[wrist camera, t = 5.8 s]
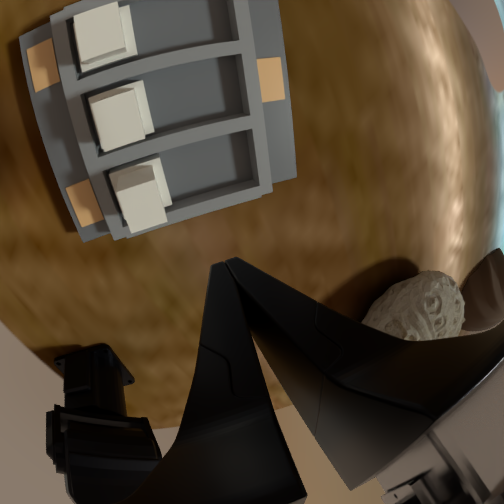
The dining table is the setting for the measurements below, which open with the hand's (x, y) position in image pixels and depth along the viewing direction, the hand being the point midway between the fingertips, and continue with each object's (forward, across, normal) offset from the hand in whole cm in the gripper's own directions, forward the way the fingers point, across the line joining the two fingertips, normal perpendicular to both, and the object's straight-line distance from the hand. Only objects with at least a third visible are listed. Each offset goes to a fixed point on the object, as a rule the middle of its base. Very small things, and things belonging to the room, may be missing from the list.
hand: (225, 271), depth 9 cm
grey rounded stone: (+12, -22, +26) cm, 36 cm away
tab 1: (+10, +2, -9) cm, 14 cm away
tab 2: (+10, +2, -4) cm, 11 cm away
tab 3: (+10, +2, 0) cm, 11 cm away
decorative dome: (+12, -52, +37) cm, 65 cm away
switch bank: (+12, 0, -4) cm, 13 cm away
